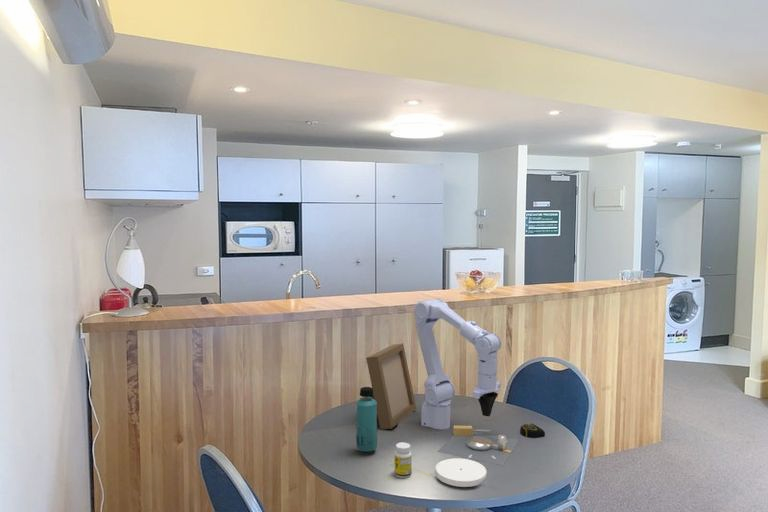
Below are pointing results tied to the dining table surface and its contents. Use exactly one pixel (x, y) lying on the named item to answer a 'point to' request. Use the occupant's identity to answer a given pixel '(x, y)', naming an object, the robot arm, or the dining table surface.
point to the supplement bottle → (403, 460)
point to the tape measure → (531, 431)
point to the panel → (495, 456)
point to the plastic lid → (460, 472)
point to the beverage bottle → (366, 421)
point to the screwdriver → (466, 430)
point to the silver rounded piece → (486, 443)
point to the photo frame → (391, 385)
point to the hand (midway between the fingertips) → (486, 415)
